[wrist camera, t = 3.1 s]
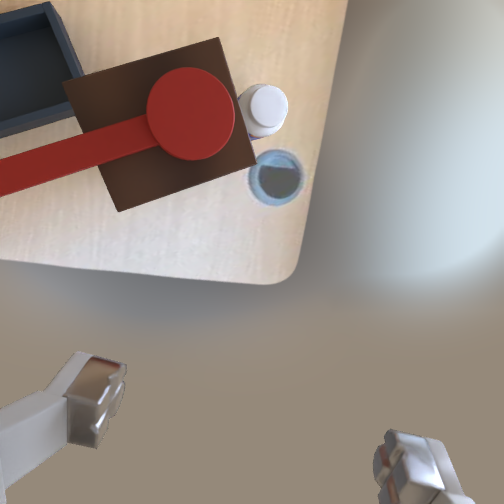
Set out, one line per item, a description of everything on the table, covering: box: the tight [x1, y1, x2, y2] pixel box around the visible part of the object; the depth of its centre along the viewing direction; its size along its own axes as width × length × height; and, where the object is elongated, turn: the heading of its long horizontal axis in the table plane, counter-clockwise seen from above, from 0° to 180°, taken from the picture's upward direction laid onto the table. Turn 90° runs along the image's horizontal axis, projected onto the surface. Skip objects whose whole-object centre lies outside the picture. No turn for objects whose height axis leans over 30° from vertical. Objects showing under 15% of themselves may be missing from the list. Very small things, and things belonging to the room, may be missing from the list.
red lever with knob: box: [0, 67, 235, 197], centre depth 18 cm, size 16×4×2 cm, turn 109°
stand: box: [62, 37, 257, 212], centre depth 32 cm, size 10×9×26 cm
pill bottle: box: [238, 84, 288, 140], centre depth 42 cm, size 5×5×10 cm
